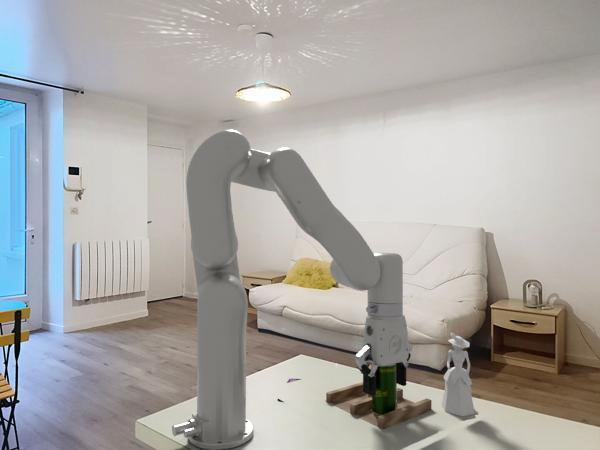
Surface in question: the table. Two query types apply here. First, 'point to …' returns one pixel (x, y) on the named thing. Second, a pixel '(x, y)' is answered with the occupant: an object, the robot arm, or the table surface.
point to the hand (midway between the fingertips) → (385, 388)
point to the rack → (361, 406)
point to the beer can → (385, 390)
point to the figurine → (458, 381)
